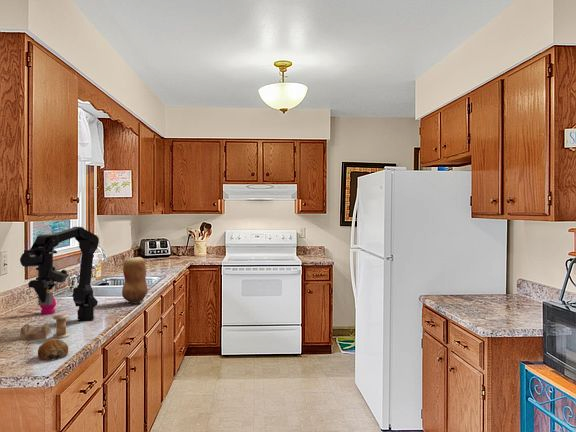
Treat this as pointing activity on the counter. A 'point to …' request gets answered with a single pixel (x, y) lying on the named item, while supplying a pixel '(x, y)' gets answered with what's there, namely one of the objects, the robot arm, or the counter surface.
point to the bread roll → (52, 349)
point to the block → (47, 298)
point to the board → (35, 332)
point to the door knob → (61, 326)
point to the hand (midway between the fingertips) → (45, 301)
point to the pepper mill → (48, 308)
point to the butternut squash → (134, 280)
